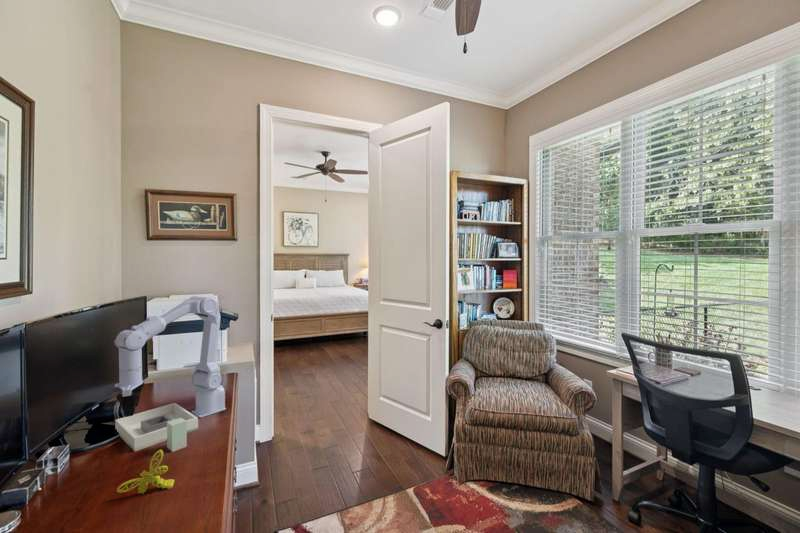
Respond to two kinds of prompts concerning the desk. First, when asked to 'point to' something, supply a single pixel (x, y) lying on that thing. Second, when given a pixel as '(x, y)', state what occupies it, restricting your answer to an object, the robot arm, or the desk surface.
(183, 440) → the connector
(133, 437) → the box
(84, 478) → the desk surface
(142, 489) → the decorative insect
